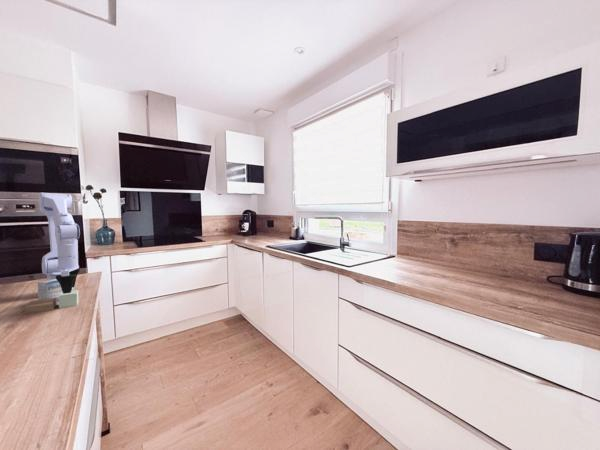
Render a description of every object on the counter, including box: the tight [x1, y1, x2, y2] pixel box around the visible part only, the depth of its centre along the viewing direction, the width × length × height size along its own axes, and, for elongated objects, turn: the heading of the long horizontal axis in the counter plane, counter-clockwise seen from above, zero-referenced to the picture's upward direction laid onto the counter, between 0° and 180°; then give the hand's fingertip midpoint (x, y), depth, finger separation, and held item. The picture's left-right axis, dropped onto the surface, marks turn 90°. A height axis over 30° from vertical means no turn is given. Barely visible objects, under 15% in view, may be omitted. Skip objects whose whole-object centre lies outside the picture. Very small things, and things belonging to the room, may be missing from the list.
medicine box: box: [37, 279, 62, 302], centre depth 99 cm, size 8×4×9 cm, turn 168°
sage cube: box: [58, 289, 80, 309], centre depth 95 cm, size 5×5×5 cm
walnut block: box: [24, 297, 58, 315], centre depth 91 cm, size 7×7×3 cm
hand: (68, 290), depth 95 cm, fingers open, 7 cm apart
